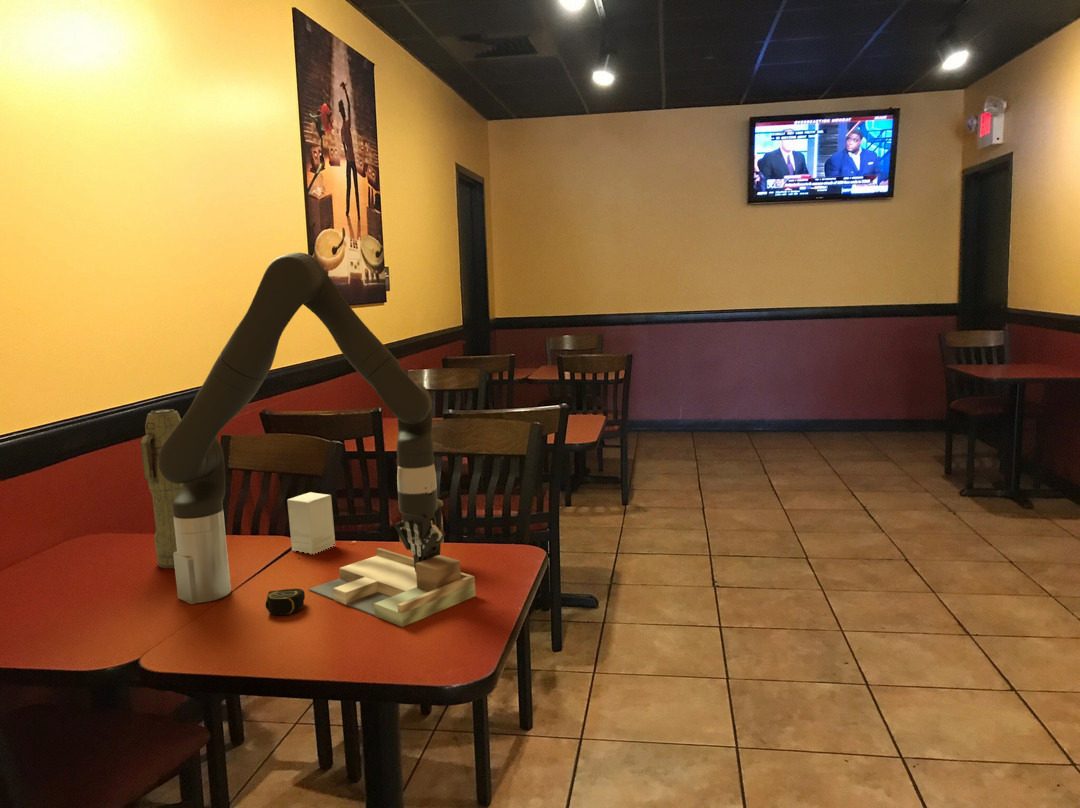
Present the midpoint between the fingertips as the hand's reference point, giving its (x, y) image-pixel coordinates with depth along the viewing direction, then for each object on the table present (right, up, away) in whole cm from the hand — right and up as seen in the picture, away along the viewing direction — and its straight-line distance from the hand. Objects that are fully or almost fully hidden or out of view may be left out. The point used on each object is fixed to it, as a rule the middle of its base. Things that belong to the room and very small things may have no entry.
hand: (421, 572), depth 160 cm
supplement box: (-30, -1, +31) cm, 43 cm away
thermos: (-59, -3, +26) cm, 65 cm away
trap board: (-6, -4, +1) cm, 8 cm away
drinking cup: (-1, -2, +17) cm, 18 cm away
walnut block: (+4, -2, -4) cm, 6 cm away
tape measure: (-25, -6, -5) cm, 27 cm away
